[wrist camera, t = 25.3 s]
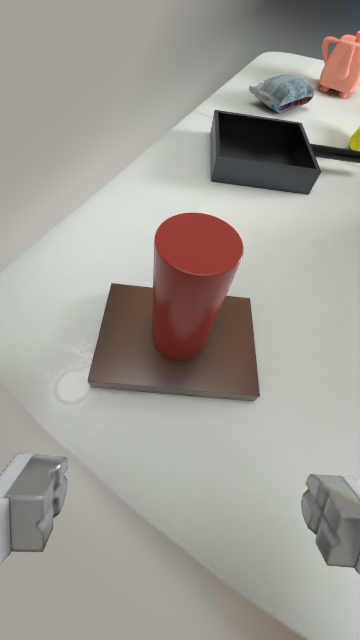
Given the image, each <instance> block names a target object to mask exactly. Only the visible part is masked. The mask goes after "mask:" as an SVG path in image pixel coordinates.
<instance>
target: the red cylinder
mask: <svg viewBox="0 0 360 640" xmlns="http://www.w3.org/2000/svg"><path fill="white" fill-rule="evenodd" d="M242 256H243V243H242V240H241V238H240V236H239V234H238V233H237V232H236V230H235V229H234V228H233V227H231V226H230V225H229V224H228V223H226V222H225V221H223V220H221V219H219V218H217V217H214V216H211V215H207V214H202V213H183V214H178V215H175V216H173V217H170V218H169V219H167V220H166V221H164V222H163V223H162V224H161V225H160V226H159V228H158V229H157V231H156V234H155V241H154V273H153V306H152V341H153V343H154V345H155V347H156V349H157V350H158V351H159V352H160V353H161V354H163V355H164V356H166V357H168V358H170V359H173V360H188V359H191V358H194V357H196V356H197V355H198V354H200V353H201V352H202V350H203V349H204V347H205V345H206V343H207V340H208V338H209V335H210V333H211V331H212V328H213V326H214V323H215V321H216V319H217V316H218V314H219V312H220V309H221V307H222V304H223V302H224V300H225V297H226V295H227V292H228V290H229V288H230V285H231V283H232V281H233V278H234V276H235V273H236V271H237V269H238V266H239V264H240V261H241V259H242Z"/></svg>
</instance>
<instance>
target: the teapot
mask: <svg viewBox="0 0 360 640" xmlns="http://www.w3.org/2000/svg"><path fill="white" fill-rule="evenodd" d="M329 43H336V44H337V45H336V47H335V48H334V50H333V51H332V53H331V55H330V56H329V58H328V46H329ZM322 52H323V58H324V62H325V66H324V68H323V70H322V73H321V76H320V82H319V83H320V84H321V85H322V87H321V88H320V90H321V91H324V92H327V91H328V90H329V88H332V89H335V90H338V91H340V93H339V97H341V98H347V93H352V92H354V91H355V90H356V89H357V88H358V86H359V85H360V31H358V32H357V35H356V36H352V35H345V36H343V37H342V38H341V39H340V40H339V39H337V38H334V37H326V38H325V39H324V41H323V44H322Z"/></svg>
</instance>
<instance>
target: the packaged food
mask: <svg viewBox="0 0 360 640" xmlns="http://www.w3.org/2000/svg"><path fill="white" fill-rule="evenodd" d="M249 90H250V92H251V93H252V94H255V96H256V98H257V99H258V100H260V101H261V102H263V103H264V104H265V105H267V106H268V107H270V108H271V109H273V110H274V111H276V112H278V113H282V112H284V111H286V110H290V109H293V108H296V107H299V106H302V105H304V104H306V103H308V102H309V101H310V100H311V99H312V98H313V95H314V90H313V89H312V88H311V87H310V86H309V85H308V84H307V83H306V82H305V81H304V80H303V79H301V78H298V77H295V76H291V75H281V76H277V77H273V78H270V79H268V80H266V81H264V82H263V83H259V84H258V85H256V86H255V87H251V86H250V87H249Z"/></svg>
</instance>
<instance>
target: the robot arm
mask: <svg viewBox="0 0 360 640" xmlns="http://www.w3.org/2000/svg"><path fill="white" fill-rule="evenodd" d="M67 468H68V459H67V458H66V457H59V456H49V455H38V454H35V455H34V454H24V453H19V454H17V455H16V456H14V457H13V459H12V460H11V461H10V463H9V464H8V465H7V466H6V468H5V469H4V470H3V472H2V473H1V474H0V563H1V562H3V561H4V560H5V559H6V558H7V557H8V556H9V555H10V554H11V551H16V552H17V551H18V552H19V551H20V552H21V551H22V552H43V550H44V548H45V546H46V543H47V541H48V539H49V536H50V534H51V532H52V529H53V518H54V517H55V516H57V515H58V514H59V513H60V511H61V508H62V506H63V503H64V499H65V496H66V490H67V478H66V477H65V475H64V474H65V472H66V470H67ZM306 485H307V487H308V490H307V491H306V492H305V493H304V494H303V496H302V500H301V509H302V514H303V518H304V520H305V523H306V525H307V527H308V528H309V529H310V530H311V531H312V532H313V533H315V534H316V541H315V542H316V544H317V546H318V548H319V550H320V552H321V554H322V556H323V558H324V560H325V562H326V564H327V565H328V566H340V567H352V568H355V570H356V571H357V572H358V573H359V574H360V481H359V480H358V479H357V478H355V477H354V476H334V475H317V474H310V475H309V476H308V477H307V481H306Z"/></svg>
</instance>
